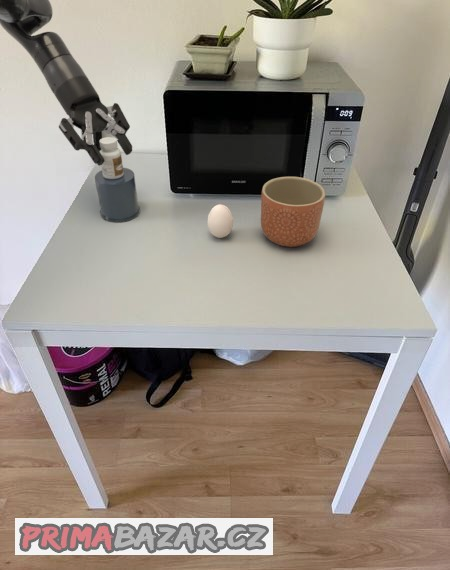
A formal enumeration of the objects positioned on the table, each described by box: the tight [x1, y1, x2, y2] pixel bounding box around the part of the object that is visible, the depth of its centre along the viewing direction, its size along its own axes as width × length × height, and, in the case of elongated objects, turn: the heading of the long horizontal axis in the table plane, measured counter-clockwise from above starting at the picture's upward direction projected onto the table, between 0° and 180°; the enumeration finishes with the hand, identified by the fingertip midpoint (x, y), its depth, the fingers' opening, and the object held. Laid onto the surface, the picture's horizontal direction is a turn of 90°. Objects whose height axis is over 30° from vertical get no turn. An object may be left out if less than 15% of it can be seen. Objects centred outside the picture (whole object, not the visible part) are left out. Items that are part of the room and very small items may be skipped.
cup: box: [94, 167, 141, 224], centre depth 98 cm, size 9×9×9 cm
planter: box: [260, 176, 326, 248], centre depth 90 cm, size 12×12×11 cm
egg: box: [207, 204, 234, 239], centre depth 91 cm, size 5×5×7 cm
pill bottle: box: [98, 136, 124, 179], centre depth 92 cm, size 4×4×8 cm
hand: (116, 157), depth 91 cm, fingers open, 6 cm apart
